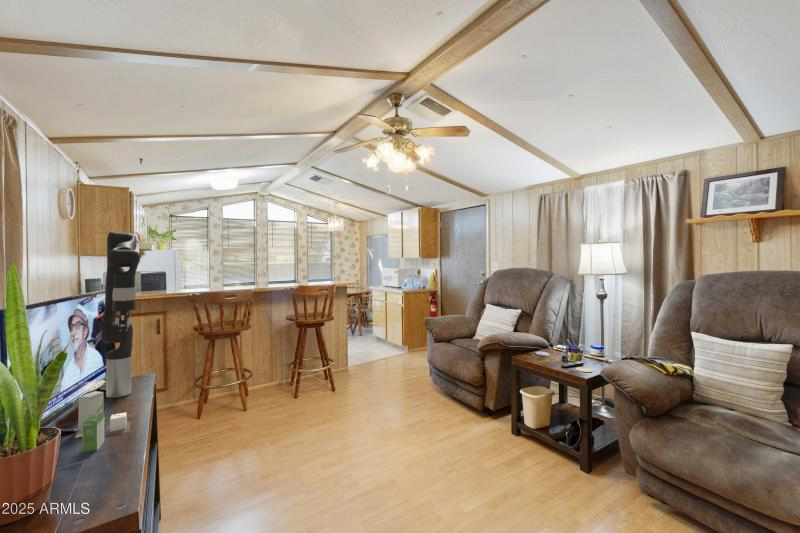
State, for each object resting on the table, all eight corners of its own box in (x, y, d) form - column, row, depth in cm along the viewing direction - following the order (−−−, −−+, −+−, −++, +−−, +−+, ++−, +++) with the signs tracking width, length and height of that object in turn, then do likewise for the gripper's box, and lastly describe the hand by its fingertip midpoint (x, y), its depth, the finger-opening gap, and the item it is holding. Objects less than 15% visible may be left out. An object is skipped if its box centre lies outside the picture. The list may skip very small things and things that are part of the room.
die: (111, 426, 136) (111, 414, 136) (126, 424, 139) (126, 412, 139) (110, 431, 132) (110, 419, 132) (125, 428, 135) (125, 416, 135)
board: (82, 423, 140) (82, 421, 140) (105, 419, 143) (105, 417, 143) (74, 439, 127) (74, 437, 127) (100, 434, 131) (100, 432, 131)
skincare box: (87, 430, 132) (87, 397, 132) (77, 429, 133) (77, 396, 133) (104, 423, 138) (104, 391, 138) (94, 422, 139) (94, 390, 139)
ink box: (90, 443, 124) (90, 404, 124) (104, 441, 126) (104, 402, 126) (82, 453, 118) (81, 411, 118) (97, 451, 120) (97, 409, 119)
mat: (108, 426, 137) (108, 425, 137) (131, 422, 141) (131, 421, 141) (104, 437, 129) (104, 436, 129) (129, 432, 133) (129, 431, 133)
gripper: (114, 297, 154) (114, 336, 154) (110, 300, 142) (110, 342, 142) (136, 296, 158) (136, 334, 158) (134, 299, 146) (134, 340, 146)
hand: (124, 338), depth 150 cm, fingers open, 8 cm apart
